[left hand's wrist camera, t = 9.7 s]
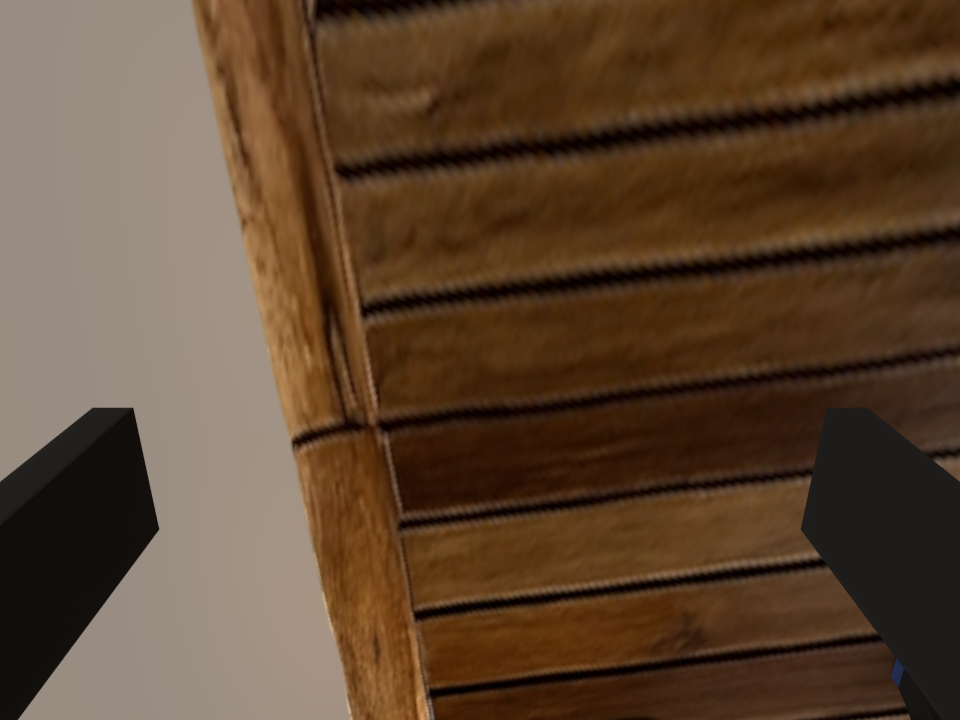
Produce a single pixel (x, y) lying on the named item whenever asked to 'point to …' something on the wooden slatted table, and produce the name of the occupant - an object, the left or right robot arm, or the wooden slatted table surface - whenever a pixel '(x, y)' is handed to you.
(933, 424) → the wooden slatted table surface
